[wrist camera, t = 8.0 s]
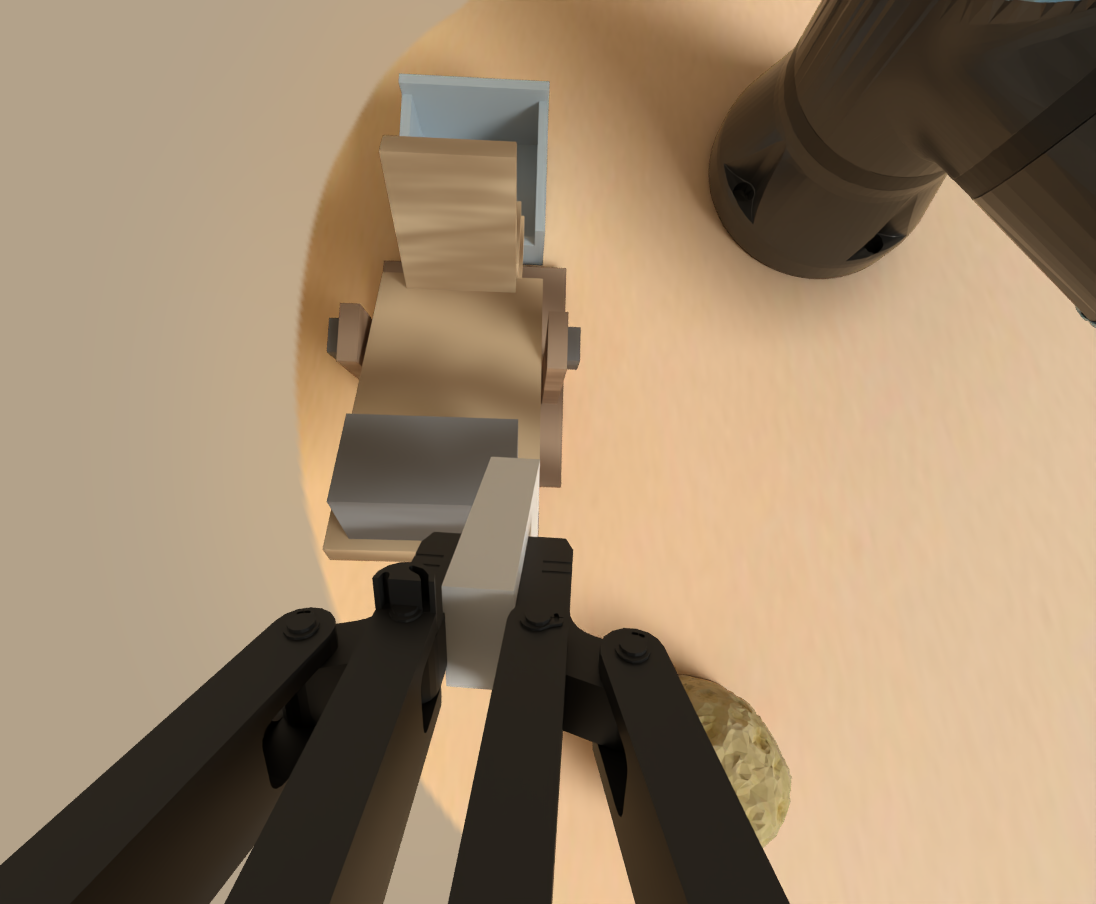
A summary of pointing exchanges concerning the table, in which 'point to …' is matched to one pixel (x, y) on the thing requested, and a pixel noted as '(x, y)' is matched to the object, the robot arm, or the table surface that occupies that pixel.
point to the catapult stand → (557, 357)
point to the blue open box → (489, 131)
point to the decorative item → (744, 754)
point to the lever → (440, 353)
